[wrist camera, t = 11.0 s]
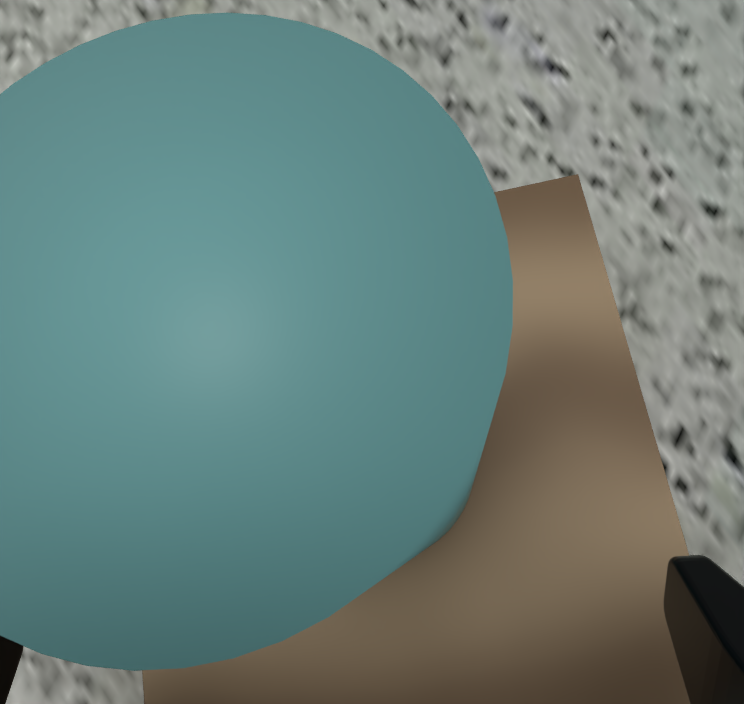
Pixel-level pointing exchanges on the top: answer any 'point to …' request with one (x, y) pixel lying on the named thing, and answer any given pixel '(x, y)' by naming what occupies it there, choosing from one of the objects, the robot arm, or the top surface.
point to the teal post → (232, 336)
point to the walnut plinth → (513, 528)
